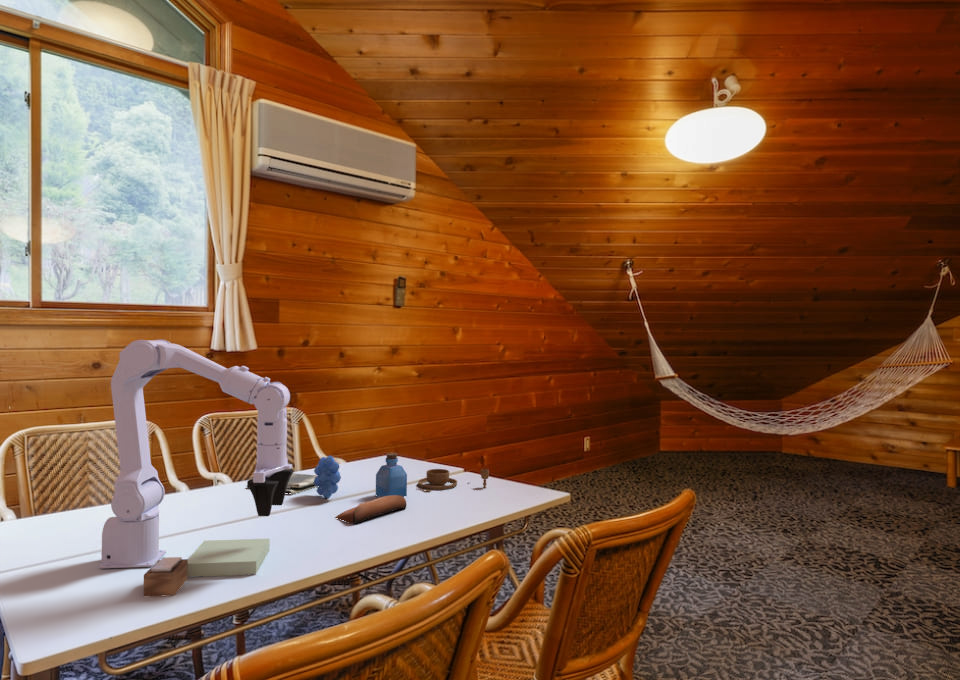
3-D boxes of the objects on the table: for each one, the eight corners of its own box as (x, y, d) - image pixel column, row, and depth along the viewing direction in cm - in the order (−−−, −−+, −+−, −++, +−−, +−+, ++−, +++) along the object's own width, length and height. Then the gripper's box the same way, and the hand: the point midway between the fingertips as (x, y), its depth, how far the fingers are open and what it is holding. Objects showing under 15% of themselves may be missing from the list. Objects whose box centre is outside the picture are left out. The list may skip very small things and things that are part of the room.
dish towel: (289, 477, 196) (289, 467, 196) (333, 484, 189) (334, 473, 189) (244, 490, 180) (244, 479, 180) (291, 498, 172) (291, 486, 172)
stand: (183, 577, 114) (183, 563, 114) (204, 552, 127) (204, 540, 127) (256, 574, 116) (256, 561, 116) (269, 550, 129) (269, 538, 129)
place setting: (441, 478, 198) (442, 460, 198) (492, 488, 186) (492, 469, 186) (404, 489, 184) (404, 469, 184) (455, 500, 172) (456, 479, 172)
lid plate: (151, 577, 107) (151, 568, 107) (163, 565, 112) (163, 557, 112) (170, 576, 107) (170, 568, 107) (181, 565, 112) (181, 557, 112)
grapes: (351, 499, 170) (352, 456, 170) (330, 503, 165) (331, 459, 165) (328, 491, 178) (329, 450, 178) (307, 495, 173) (308, 453, 173)
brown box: (143, 598, 106) (143, 574, 106) (158, 581, 113) (158, 560, 113) (174, 596, 106) (174, 573, 106) (187, 580, 113) (187, 559, 113)
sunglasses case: (384, 502, 166) (393, 483, 164) (400, 520, 163) (409, 501, 161) (331, 518, 152) (341, 497, 150) (348, 538, 148) (358, 517, 146)
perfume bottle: (406, 496, 174) (407, 454, 174) (389, 500, 169) (390, 457, 169) (392, 492, 178) (393, 451, 178) (375, 496, 174) (376, 453, 174)
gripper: (279, 450, 117) (278, 521, 117) (302, 437, 131) (301, 500, 131) (242, 449, 117) (241, 520, 117) (269, 436, 131) (268, 500, 131)
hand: (270, 510), depth 124 cm, fingers open, 7 cm apart
